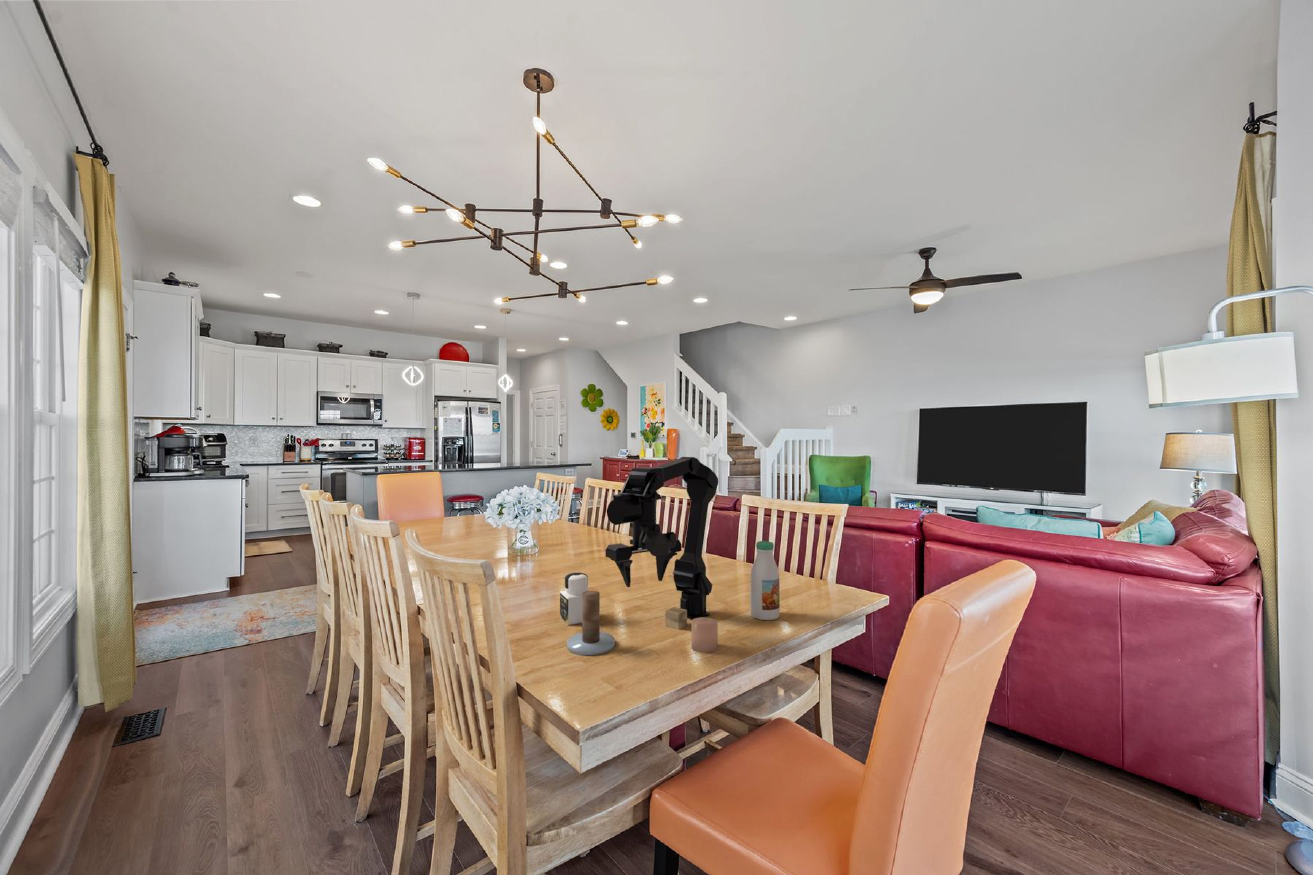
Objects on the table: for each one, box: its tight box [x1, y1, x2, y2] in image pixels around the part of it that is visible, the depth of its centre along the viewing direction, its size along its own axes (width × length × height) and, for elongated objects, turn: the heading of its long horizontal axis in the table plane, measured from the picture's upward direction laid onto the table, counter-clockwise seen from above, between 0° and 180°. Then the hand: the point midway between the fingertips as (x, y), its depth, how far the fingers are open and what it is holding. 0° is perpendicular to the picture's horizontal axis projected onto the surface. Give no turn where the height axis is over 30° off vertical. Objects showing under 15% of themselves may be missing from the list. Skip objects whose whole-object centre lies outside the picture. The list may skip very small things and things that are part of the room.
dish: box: [566, 631, 616, 656], centre depth 122 cm, size 11×11×1 cm
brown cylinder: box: [581, 590, 601, 644], centre depth 122 cm, size 4×4×11 cm
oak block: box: [664, 606, 688, 630], centre depth 135 cm, size 4×4×4 cm
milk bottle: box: [749, 540, 781, 621], centre depth 142 cm, size 8×8×20 cm
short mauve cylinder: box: [691, 616, 719, 654], centre depth 121 cm, size 6×6×6 cm
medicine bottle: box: [559, 572, 589, 626], centre depth 140 cm, size 7×7×12 cm
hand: (644, 583), depth 127 cm, fingers open, 9 cm apart
